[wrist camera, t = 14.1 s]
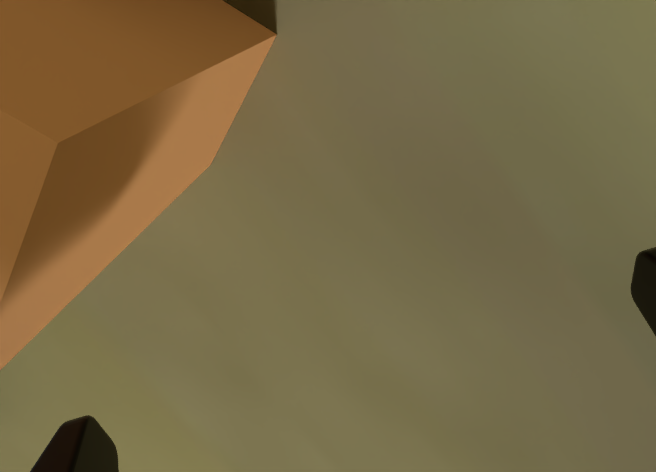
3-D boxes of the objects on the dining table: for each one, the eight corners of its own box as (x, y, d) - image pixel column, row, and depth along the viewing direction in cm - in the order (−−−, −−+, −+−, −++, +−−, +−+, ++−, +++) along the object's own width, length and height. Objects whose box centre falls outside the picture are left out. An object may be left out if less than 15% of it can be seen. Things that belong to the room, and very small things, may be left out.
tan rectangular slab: (276, 34, 16) (57, 143, 6) (210, 164, 18) (-37, 406, 8) (83, -88, 15) (-515, -187, 5) (36, 61, 17) (-468, 187, 7)
